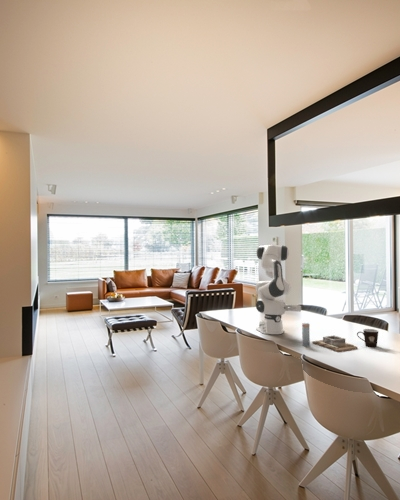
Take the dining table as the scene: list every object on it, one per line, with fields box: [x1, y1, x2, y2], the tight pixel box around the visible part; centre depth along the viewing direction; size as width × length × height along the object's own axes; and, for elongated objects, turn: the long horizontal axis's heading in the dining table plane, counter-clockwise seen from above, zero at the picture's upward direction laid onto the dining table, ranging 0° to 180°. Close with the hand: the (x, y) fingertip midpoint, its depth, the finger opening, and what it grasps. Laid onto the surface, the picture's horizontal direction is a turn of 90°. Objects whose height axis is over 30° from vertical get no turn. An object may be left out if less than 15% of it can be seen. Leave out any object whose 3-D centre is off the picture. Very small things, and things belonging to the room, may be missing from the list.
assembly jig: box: [311, 335, 358, 353], centre depth 216 cm, size 22×16×5 cm
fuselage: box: [301, 322, 311, 347], centre depth 218 cm, size 4×4×14 cm
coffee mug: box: [356, 328, 379, 349], centre depth 216 cm, size 12×9×10 cm
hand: (294, 308), depth 214 cm, fingers open, 8 cm apart
